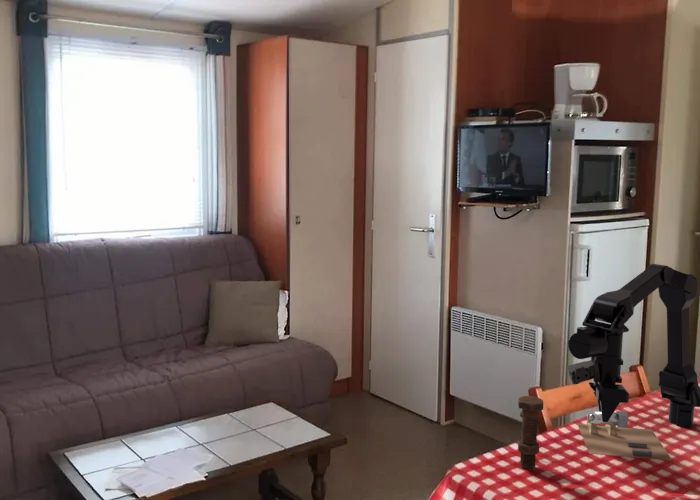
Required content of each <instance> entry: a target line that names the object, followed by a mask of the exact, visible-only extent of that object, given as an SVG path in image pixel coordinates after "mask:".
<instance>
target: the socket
mask: <svg viewBox="0 0 700 500" xmlns="http://www.w3.org/2000/svg"><path fill="white" fill-rule="evenodd" d="M627 445H628V447H638V448H647V443H646V442H636V441H628V444H627ZM632 454H633V455H640V456H652V451H651V450H640V449H632Z"/></svg>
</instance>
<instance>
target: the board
mask: <svg viewBox="0 0 700 500" xmlns="http://www.w3.org/2000/svg"><path fill="white" fill-rule="evenodd" d="M577 426H578V429H579V432H580V434H581V436H582V438H583V441H584V444H585V446H586V449H587V452H588V453H589V455H590V454H591V455H600V456H610V457H611V456H612V457H614V456H615V457H626V458H639V459H647V460H648V459H650V460H659V461H660V460H663V461H673V459H672V457H671V456H670V455H669V453H668V451H667V450H666V448H665V447H664V445H663V444H662V443H661V441H660V439H659V438H658V437H657V434H656V433H655V432H654V430H653V429H648V428H638V427H637V428H635V427H628V428H621V427H618V426H616V432H615V436H612V435H610V434H609V432H608V430H607V428H606V426H605V425H599V424H597V426H596V434H591V433H590V431H589V429H588V426H587V424H585V423H584V424H583V423H577ZM628 441H636V442H646V443H647V448H638V447H628V445H627V444H628ZM632 449H640V450H651V451H652V456H640V455H633V454H632Z"/></svg>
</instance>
